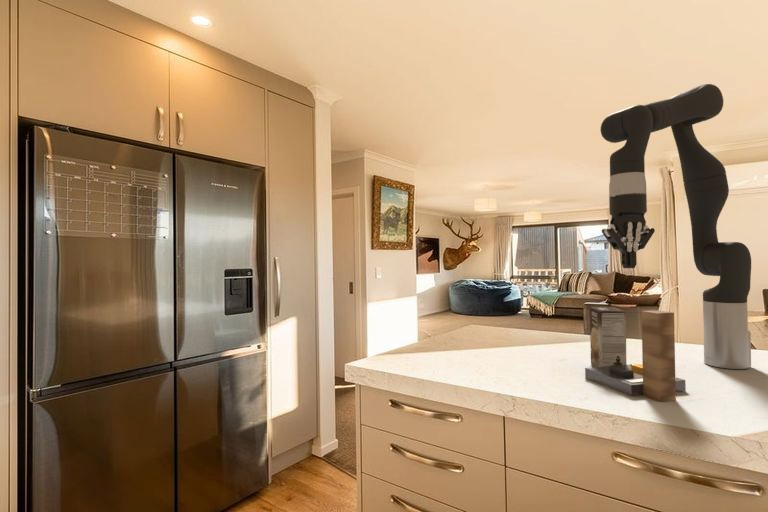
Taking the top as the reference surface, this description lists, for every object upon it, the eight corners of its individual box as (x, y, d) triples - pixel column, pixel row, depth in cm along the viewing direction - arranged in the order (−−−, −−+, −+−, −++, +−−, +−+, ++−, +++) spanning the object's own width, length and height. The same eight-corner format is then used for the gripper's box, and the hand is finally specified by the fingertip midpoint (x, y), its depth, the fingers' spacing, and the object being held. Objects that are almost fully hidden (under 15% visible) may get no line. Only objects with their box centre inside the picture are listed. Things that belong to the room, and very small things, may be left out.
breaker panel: (633, 376, 102) (633, 358, 102) (685, 393, 89) (685, 373, 89) (585, 380, 99) (585, 362, 100) (631, 399, 86) (631, 378, 86)
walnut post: (658, 394, 87) (657, 310, 87) (675, 400, 83) (674, 312, 84) (643, 395, 86) (641, 311, 87) (659, 401, 82) (657, 313, 83)
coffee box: (589, 364, 112) (588, 306, 112) (614, 365, 111) (613, 306, 111) (600, 373, 103) (599, 310, 103) (628, 374, 102) (627, 310, 102)
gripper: (638, 197, 100) (639, 267, 100) (591, 196, 97) (593, 268, 97) (665, 192, 93) (666, 268, 93) (615, 191, 90) (616, 269, 90)
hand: (628, 268), depth 95 cm, fingers closed
